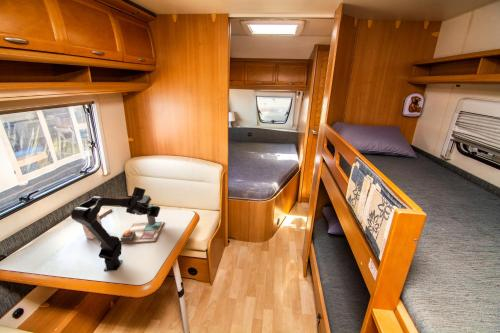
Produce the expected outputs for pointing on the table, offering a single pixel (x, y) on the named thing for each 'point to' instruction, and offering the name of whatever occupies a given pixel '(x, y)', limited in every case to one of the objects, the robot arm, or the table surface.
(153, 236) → the colouring board
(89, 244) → the table surface
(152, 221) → the teal rubber stamp
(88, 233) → the ink cartridge box
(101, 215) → the washcloth
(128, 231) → the button
